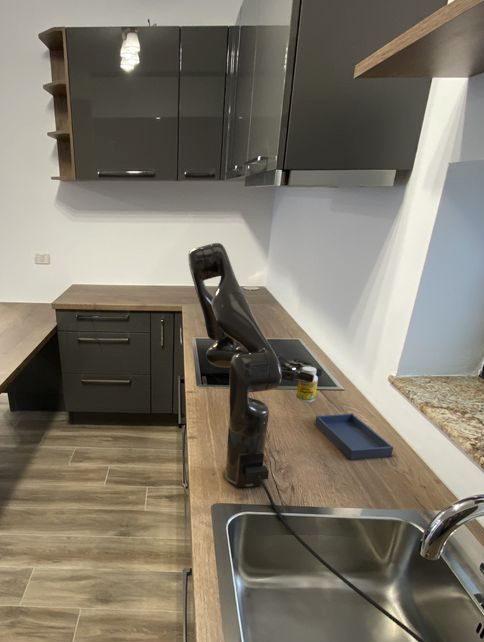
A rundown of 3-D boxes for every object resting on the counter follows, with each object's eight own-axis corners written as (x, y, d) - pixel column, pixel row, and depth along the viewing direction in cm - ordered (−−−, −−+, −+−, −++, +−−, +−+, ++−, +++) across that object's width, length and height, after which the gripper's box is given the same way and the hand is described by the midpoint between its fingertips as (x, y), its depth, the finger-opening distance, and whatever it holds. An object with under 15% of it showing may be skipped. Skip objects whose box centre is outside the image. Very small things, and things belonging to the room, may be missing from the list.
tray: (391, 456, 123) (393, 447, 121) (350, 459, 121) (352, 450, 120) (350, 421, 142) (352, 413, 141) (314, 424, 140) (316, 416, 139)
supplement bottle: (314, 396, 133) (319, 366, 129) (315, 403, 128) (319, 372, 125) (295, 394, 134) (299, 364, 131) (295, 401, 130) (300, 370, 126)
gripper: (254, 356, 130) (308, 370, 120) (277, 345, 140) (329, 357, 130) (251, 380, 133) (304, 395, 123) (275, 368, 143) (326, 381, 133)
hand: (317, 375), depth 127 cm, fingers closed on supplement bottle, 5 cm apart
